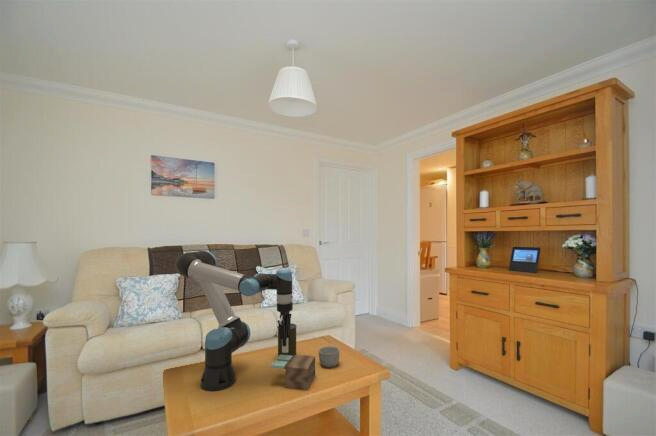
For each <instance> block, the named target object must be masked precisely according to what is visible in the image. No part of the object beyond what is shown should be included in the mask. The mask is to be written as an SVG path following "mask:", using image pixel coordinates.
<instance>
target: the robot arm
mask: <svg viewBox="0 0 656 436" xmlns="http://www.w3.org/2000/svg"><path fill="white" fill-rule="evenodd" d="M217 263H218V261H217V257H216V256H215V255H214V254H213V252H211V251H208V250H198V251H189V252H184V253H181V254H180V255H179V256H178V257H177V258H176V260H175V264H174V268H175V271H176V272H177V273H178V275H180V276H182V277H184V278H188V279H192V280H194V281H195V282H198V283H199V285H200V286H201V288H202V289H201V290H202V291H203V293H204V295H205V297H206V300H207V302H208V304H209V306H210V308H211V311H212V313H213V315H214V316H215V318H216V321H217V323H218V327H217V328H213V329H212V330H210V331H209V332H207V333H206V335H205V338H204V339H205V340H204V369H203V372H202V376H201V379H200V387H201V389H203V390H204V391H208V392H209V391H211V392H215V391H221V390H225V389H228V388H229V387H231V386H233V385H234V384H235V383H236V379H237V378H236V377H237V376H236V373H235V369H234V367H233V364H232V363H233V358H232V356H233V355H232V354H233V353H234V352H236V351H237V350H239V349H240V348H242V347H244V345H246V344H247V343H248V342H249V340H250V337H251V328H250V325H248V323H247V322H244V321H242V320H241V317H240V316H237V315H236V314H235V312H234V311H233V309H232V306H231V305H230V302H229V300H228V298H227V295H226V293H225V292H224V290H223V287H224V288H228V289H231V290H235V291H238V292H240V293H241V294H242V296H244V297H252V296H255V295H257V294H259V293H261V292H263V291H267V290H273V291H275V290H276V311H277V312H279V320H277V324H278V325H279V333H280V339H282V353H288V337H289V338H290V336H289V335H290V324H292V322H291V321H292V320H291V319H292V313H290V312H292V311H293V307H294V305H293V298H294V295H293V280H294V279H293V272H292V270H290V269H278V270H276V272H275V273H263V272H262V273H256V274H254V275H253V276H250V275H246V274H243V273H240V272H236V271H232V270H230V269H226V268H222V267H218V266H217ZM278 325H277V326H278Z"/></svg>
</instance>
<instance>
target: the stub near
mask: <svg viewBox="0 0 656 436" xmlns="http://www.w3.org/2000/svg"><path fill="white" fill-rule="evenodd" d="M288 363H289V362H285V361H276V360H274V361H273V362H272V363H271V364H270V368H271V369H279V370H286V366H287V365H288Z"/></svg>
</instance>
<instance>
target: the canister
mask: <svg viewBox="0 0 656 436" xmlns="http://www.w3.org/2000/svg"><path fill="white" fill-rule="evenodd" d="M289 336H290V338H289V337H288V353H282V339H280V333H279V325H277V357H278V356H279V355H290V356H295V355H297V325H296V324H295V323H291V324H290V335H289Z"/></svg>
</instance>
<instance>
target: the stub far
mask: <svg viewBox="0 0 656 436" xmlns="http://www.w3.org/2000/svg"><path fill="white" fill-rule="evenodd" d="M293 357H294V356H290V355H279V356H278V355H277V358H276V359H275V361H285V362H290V361H291V359H292V358H293Z"/></svg>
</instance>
